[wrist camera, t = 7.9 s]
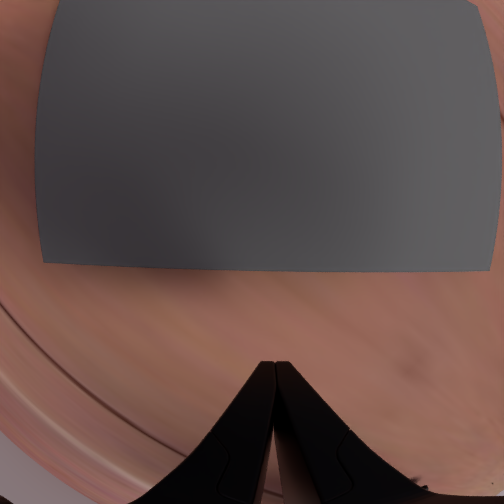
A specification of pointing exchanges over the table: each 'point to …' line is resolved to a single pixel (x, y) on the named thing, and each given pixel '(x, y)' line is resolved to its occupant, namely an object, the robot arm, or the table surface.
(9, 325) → the table surface
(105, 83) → the mat
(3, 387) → the table surface
